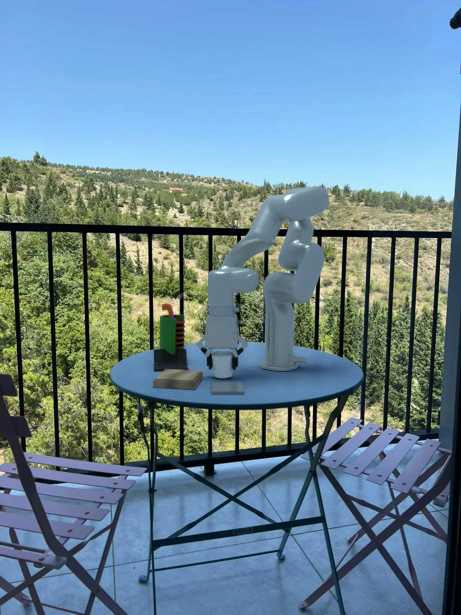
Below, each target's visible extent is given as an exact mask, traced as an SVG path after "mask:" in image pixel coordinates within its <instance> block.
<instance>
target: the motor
mask: <svg viewBox="0 0 461 615" xmlns="http://www.w3.org/2000/svg"><path fill="white" fill-rule="evenodd" d="M161 311H167V313H168V314H162V315H160V316H159V347H158V349H166V351H167V352H169V353H170V354H174V355H175V349H186V348H185V347H186V344H185V343H186V342H185V337H186V335H185V333H186V332H185V331H186V330H185V328H186V325H185V323H186V319H185V314H174V308H173V306H172V304H171V303H169V302H168V303H163V304H161Z"/></svg>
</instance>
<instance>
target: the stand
mask: <svg viewBox="0 0 461 615" xmlns="http://www.w3.org/2000/svg"><path fill="white" fill-rule="evenodd" d="M203 379H204V372H203V371H201V370H193V369H192V370H191V369H188V370H177V369H165V370H164V371H163V372H160V374H158V376H156V377H155V378H154V379H153V381H152V382H153V383H152V388H159V389H172V390H175V389H176V390H189V391H191V390H192V391H195V390H196V388H197V387H198V386H199V384H200V383H201V382H202V380H203Z"/></svg>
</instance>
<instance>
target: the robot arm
mask: <svg viewBox="0 0 461 615" xmlns="http://www.w3.org/2000/svg"><path fill="white" fill-rule="evenodd" d="M329 203H330V195H329V193H328V191H327V189H325V187H323V186H315V185H314V186H305V187H295V188H290V189H288V190H287V191H286V192H285V193H284V194H282V193H281V194H273V195H270V196H268V197H266V198H265V199H264V200H263V202H262V204H261V206H260V208H259V210H258V212H257V213H256V214H257V215H256V216H255V218H254V220H253V222H252V224H251V226H250V228H249V231H248V232H247V234H246V235H245V236H244V237H242V238H241V240H239V241H238V242H237V243H236V244H235V245H234V246H233V247H232V248H231V249H230V250H229V251H228V253H227V254H226V256H225V257H224V259H223V262H222V263H221V264H220V267H219V269H213V270H210V271H209V272H208V275H207V283H208V286H207V288H208V290H207V291H208V292H207V293H208V314H207V315H206V320H205V327H204V328H205V330H204V333H205V334H204V335H203V336H202V338H200V339H199V340H198V341H197V342H196V343H195V346H197V348H198V349H199V350H200V351H201V353H202V354H203V355H204V356H205V358H206V366H207V367H208V370H210V371H211V370H213V364H212V356H211V354H212V353H213V352H212V351H213V350H215V349H216V350H218V349H219V350H231V352H232V353H233V354H234V356H233V371H236V369H237V367H239V356H240V355H241V354H242V353H243V352H244V351H245V349H247V348H248V347H249V342H248V341H247V340H245V339H244V338H243V337H241V336H240V329H239V328H240V327H239V321H238V316H237V314H235V313H239V310H240V308H239V307H237V306H235V302H234V298H235V297H234V296H235V294H236V293H237V294H240V293H241V294H249V293H252V292H254V291H255V290H257V288H258V287H259V285H260V277H259V275H258V273H257V272H256V270H253V269H252V268H249V267H247V268H246V267H244V265H245V264H247V262H248V261H249V260H250V259H252V258H253V257H255V256H257V255H259V254H261V253H263V252H265V251H267V250H269V249H270V248H271V247H273V245H274V243H275V240H276V238H277V236H278V235H279V234H278V233H279V232H280V230H281V228H282V227H283V224H284V223H285V222H287V223H288V228H287V232H286V235H285V237H284V240H283V243H282V244H281V248H280V250H279V254H278V256H277V257H278V258H277V264H278V265H279V267H281V269H283V270H285V271H290V272H283V271H275V272H272V273H270V274H268V275H267V276H266V277H265V279H264V281H263V284H262V285H263V287H262V291H263V295H264V297H263V298H264V304H265V321H264V322H265V324H264V325H265V326H264V330H265V331H264V360H261V361H260V362H259V367H260V368H261V369H263V370H267V371H268V370H269V371H272V372H273V371H274V372H275V371H276V372H289V371H293V370H296V369H297V368H298V364H307V363H308V362H307V359H308V358H307V357H304V356H297V355H295V352H294V340H295V338H294V337H295V336H294V334H295V310H294V306H293V304H296V305H304V304H306V303H308V302H309V301H310V299H312V296H313V295H314V292H315V290H316V287H317V284H318V281H319V279H320V276H321V273H322V271H323V267H324V264H325V253H324V250H323V248H322V247H321V246H320V245H319V244H318V243H315V242H312V239H313V237H314V226H313V222H312V220H311V218H312V217H314V216H317V215H320V214H321V213H323V212H325V210H327V208H328V206H329ZM291 271H292V272H291ZM293 272H294V273H293ZM240 344H241V345H242V346H240V348H238V346H239V345H240Z"/></svg>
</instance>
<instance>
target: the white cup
mask: <svg viewBox="0 0 461 615" xmlns="http://www.w3.org/2000/svg"><path fill="white" fill-rule="evenodd" d="M211 356H212V364H213V367H212V371H213V377H215V378H218V379H227V378H230V377H233V371H234V370H233V356H234V354H233V353H232V351H229V350H218V351H213V352H211Z"/></svg>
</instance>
